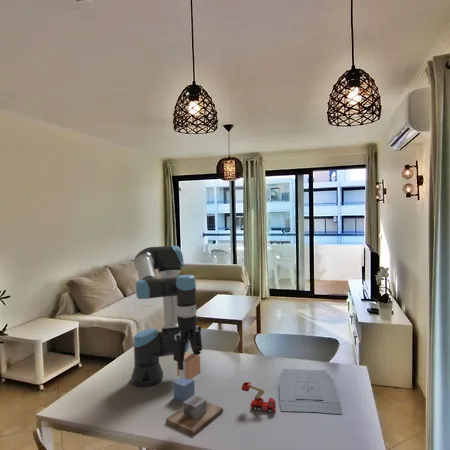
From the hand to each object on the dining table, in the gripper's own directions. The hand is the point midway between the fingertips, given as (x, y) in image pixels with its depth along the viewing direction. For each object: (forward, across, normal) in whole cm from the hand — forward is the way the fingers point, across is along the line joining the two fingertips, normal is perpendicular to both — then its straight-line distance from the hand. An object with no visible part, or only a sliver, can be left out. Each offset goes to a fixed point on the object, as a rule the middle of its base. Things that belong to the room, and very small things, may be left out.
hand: (189, 373), depth 137 cm
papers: (+18, +43, -30) cm, 55 cm away
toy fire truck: (+18, +21, -19) cm, 33 cm away
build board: (+18, +1, -1) cm, 18 cm away
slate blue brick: (+17, +10, +13) cm, 24 cm away
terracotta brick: (0, 0, 0) cm, 0 cm away
